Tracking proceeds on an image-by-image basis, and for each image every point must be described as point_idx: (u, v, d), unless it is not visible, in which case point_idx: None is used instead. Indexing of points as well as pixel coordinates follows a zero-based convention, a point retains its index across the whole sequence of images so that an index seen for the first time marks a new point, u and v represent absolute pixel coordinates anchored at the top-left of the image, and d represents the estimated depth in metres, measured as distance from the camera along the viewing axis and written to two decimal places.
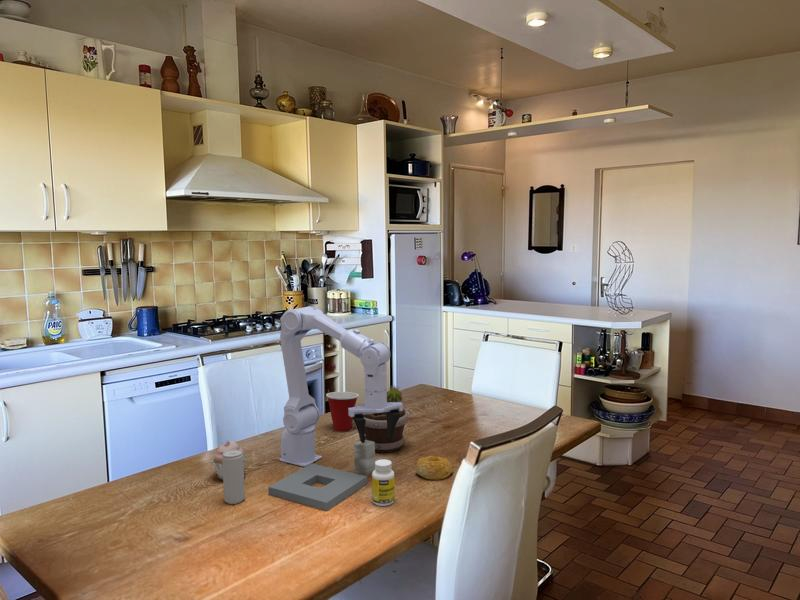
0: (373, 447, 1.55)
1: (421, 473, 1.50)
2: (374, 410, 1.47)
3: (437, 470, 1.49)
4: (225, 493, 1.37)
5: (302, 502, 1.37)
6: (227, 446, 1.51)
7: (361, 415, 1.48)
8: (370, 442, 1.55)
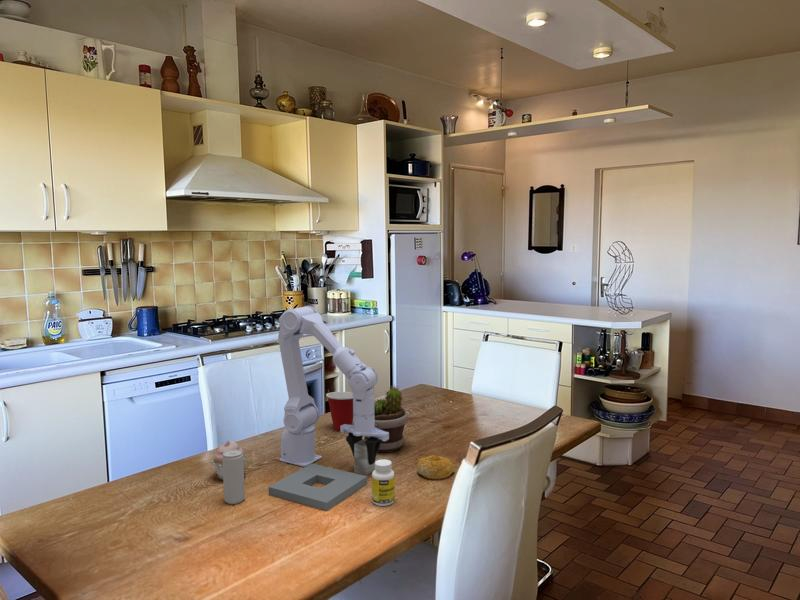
0: None
1: (423, 473, 1.50)
2: (354, 432, 1.53)
3: (439, 470, 1.49)
4: (225, 493, 1.37)
5: (302, 502, 1.37)
6: (227, 446, 1.51)
7: (349, 434, 1.56)
8: None
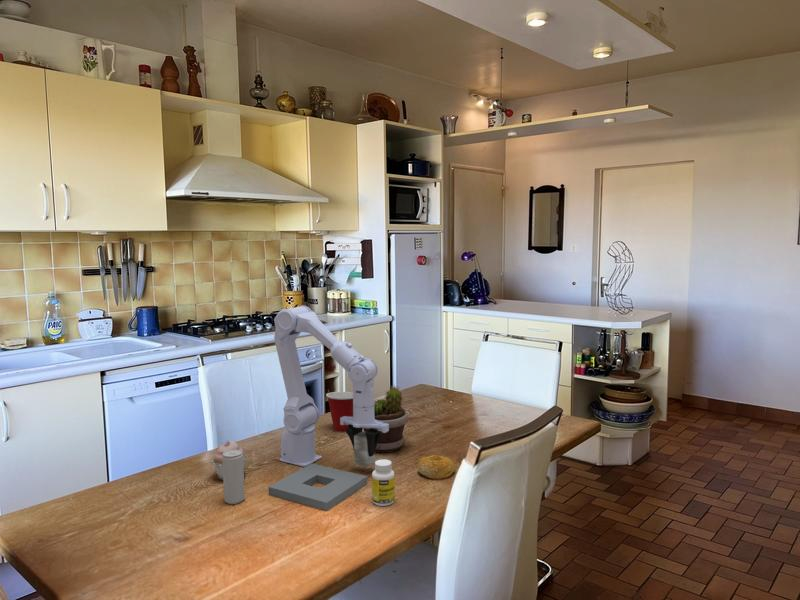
0: None
1: (424, 472, 1.51)
2: (353, 424, 1.53)
3: (440, 469, 1.49)
4: (225, 493, 1.37)
5: (302, 502, 1.37)
6: (227, 446, 1.51)
7: (349, 425, 1.56)
8: None
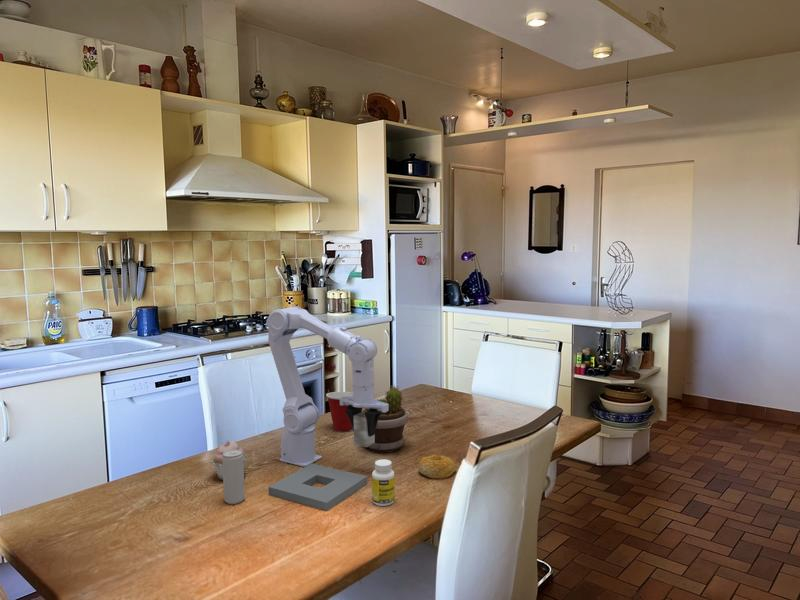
0: None
1: (424, 472, 1.51)
2: (353, 403, 1.52)
3: (441, 469, 1.50)
4: (225, 493, 1.37)
5: (302, 502, 1.37)
6: (227, 446, 1.51)
7: (348, 406, 1.55)
8: None
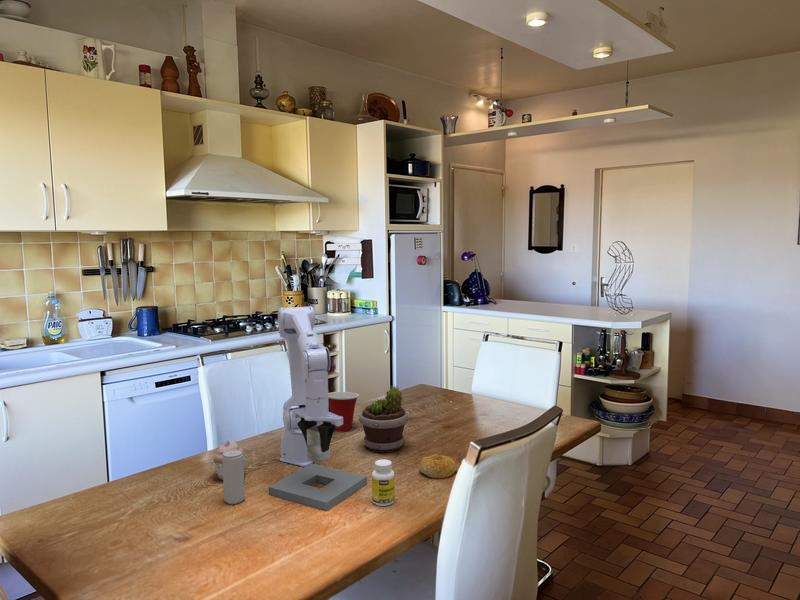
0: None
1: (425, 472, 1.51)
2: (305, 417, 1.41)
3: (442, 469, 1.50)
4: (225, 493, 1.37)
5: (302, 502, 1.37)
6: (227, 446, 1.51)
7: (301, 419, 1.44)
8: None
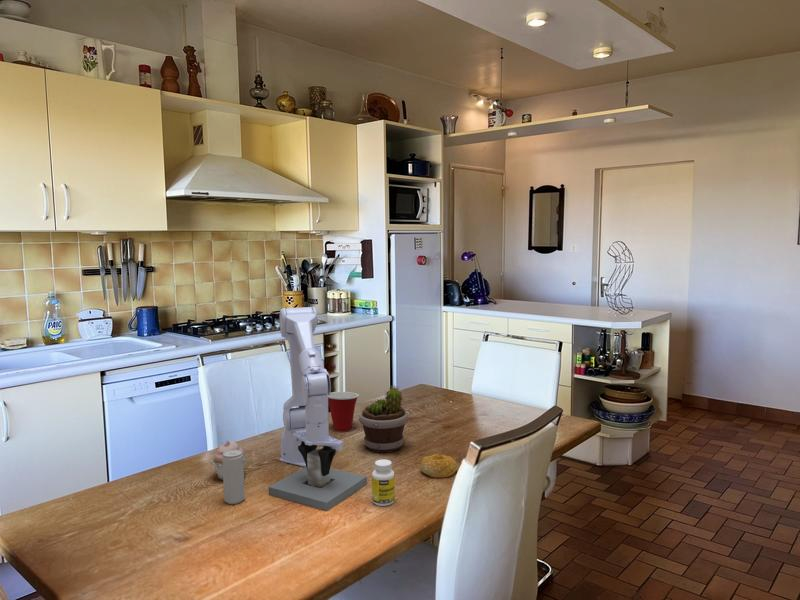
0: None
1: (427, 471, 1.51)
2: None
3: (443, 468, 1.50)
4: (225, 493, 1.37)
5: (302, 502, 1.37)
6: (227, 446, 1.51)
7: (302, 442, 1.45)
8: None
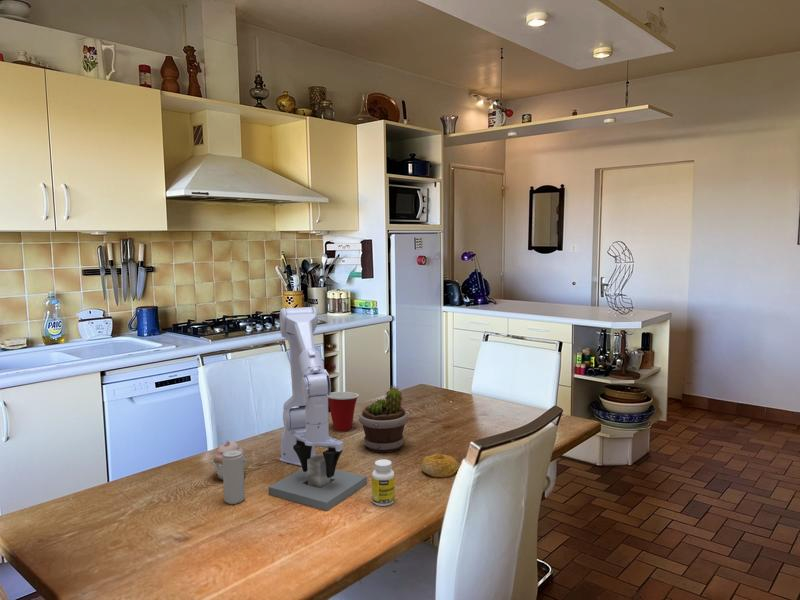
0: None
1: (427, 471, 1.52)
2: (306, 441, 1.42)
3: (444, 468, 1.50)
4: (225, 493, 1.37)
5: (302, 502, 1.37)
6: (227, 446, 1.51)
7: (302, 443, 1.45)
8: None
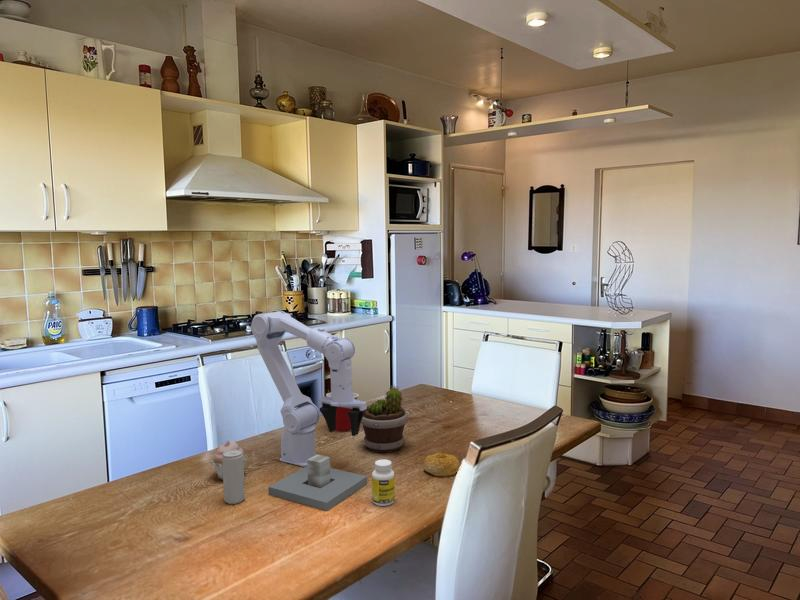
0: (328, 463, 1.44)
1: (430, 470, 1.52)
2: (331, 403, 1.53)
3: (446, 467, 1.51)
4: (225, 493, 1.37)
5: (302, 502, 1.37)
6: (227, 446, 1.51)
7: (327, 405, 1.56)
8: (325, 458, 1.44)
